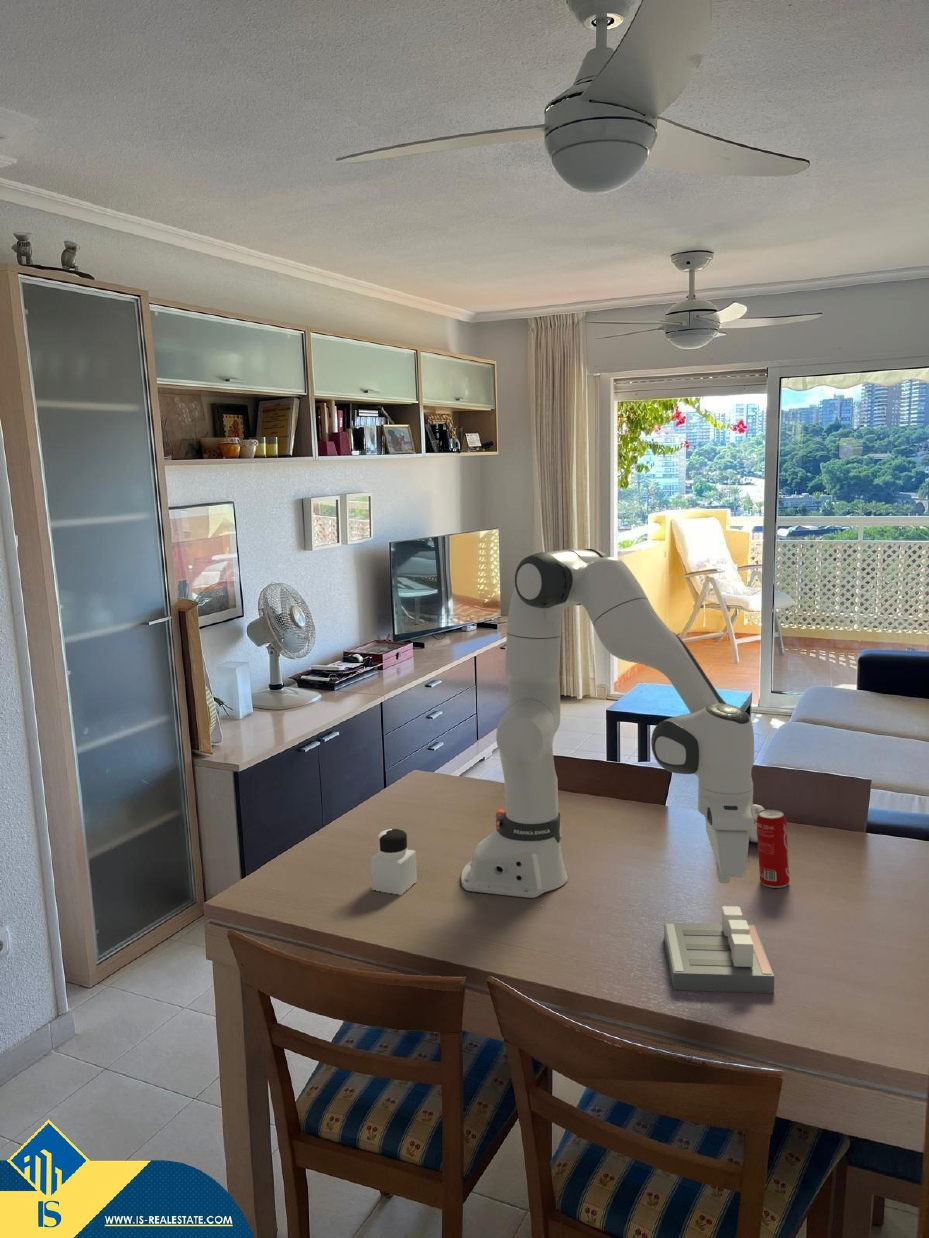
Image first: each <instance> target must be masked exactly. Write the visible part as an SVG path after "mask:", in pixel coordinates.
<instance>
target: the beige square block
mask: <svg viewBox="0 0 929 1238" xmlns="http://www.w3.org/2000/svg"><path fill="white" fill-rule="evenodd" d="M748 925H749V924H748V921H747V920H746V919H742V920H728V943H729V946H730V949H731V934H746V935H750V929H749V926H748Z"/></svg>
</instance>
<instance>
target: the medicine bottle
mask: <svg viewBox="0 0 929 1238" xmlns="http://www.w3.org/2000/svg"><path fill="white" fill-rule="evenodd" d="M407 836H408V834H407V832H405V830H403V829H399V828H389V829H384V830H382V831H381V832H380V833H378V836H377V843H378V845H377V848H378V853H377V854H375V855H374V856H372V857H371V858H370V870H371V873H370V874H371V888H372V889H371V890H372V891H374V890H376V891H375V892H379V891H381V892H380V893H385V892H386V893H385V894H390V893H393V894H392V895H396V894H398V895H397V896H402V895H404V894H405V893H406V892H407V891H408V890H409V889H410V888H412V887H413V886H414V885H415V884H416V883H417V882H418V877H417V876H418V875H417V873H418V872H417V854H416V850H414V849H408V837H407ZM414 883H415V884H414ZM413 884H414V885H413ZM412 885H413V886H412ZM406 890H407V891H406ZM404 892H405V893H404ZM403 893H404V894H403Z"/></svg>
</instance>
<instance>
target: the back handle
mask: <svg viewBox="0 0 929 1238" xmlns="http://www.w3.org/2000/svg"><path fill="white" fill-rule="evenodd" d="M728 920H744V919H743V913H742V909H741V907H740V906H728V905H727V906H726V905H724V906H723V905H722V906H721V924H722V929H723V932H724V935H725V936H728Z"/></svg>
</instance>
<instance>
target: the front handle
mask: <svg viewBox="0 0 929 1238" xmlns="http://www.w3.org/2000/svg"><path fill="white" fill-rule="evenodd" d="M731 958H732V961H733V964H734V966H737V967H753V942H752V940H751V937H750V935H746V934H731Z"/></svg>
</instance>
